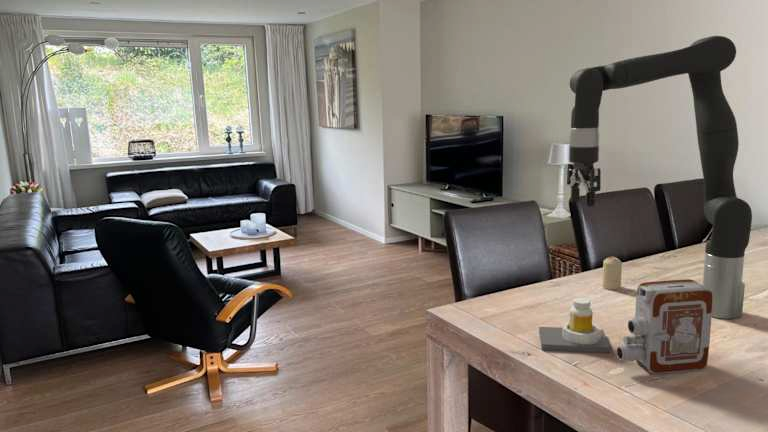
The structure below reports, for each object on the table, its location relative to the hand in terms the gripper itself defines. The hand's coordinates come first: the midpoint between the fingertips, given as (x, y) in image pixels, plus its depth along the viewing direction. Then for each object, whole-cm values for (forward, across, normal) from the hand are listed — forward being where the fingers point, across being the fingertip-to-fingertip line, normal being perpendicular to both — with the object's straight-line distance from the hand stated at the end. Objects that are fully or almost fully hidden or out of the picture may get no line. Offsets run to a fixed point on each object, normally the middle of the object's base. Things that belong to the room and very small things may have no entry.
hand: (582, 203), depth 155 cm
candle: (+32, +18, -20) cm, 42 cm away
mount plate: (+32, -17, +11) cm, 38 cm away
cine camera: (+32, -34, -2) cm, 47 cm away
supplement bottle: (+31, -18, +9) cm, 37 cm away
